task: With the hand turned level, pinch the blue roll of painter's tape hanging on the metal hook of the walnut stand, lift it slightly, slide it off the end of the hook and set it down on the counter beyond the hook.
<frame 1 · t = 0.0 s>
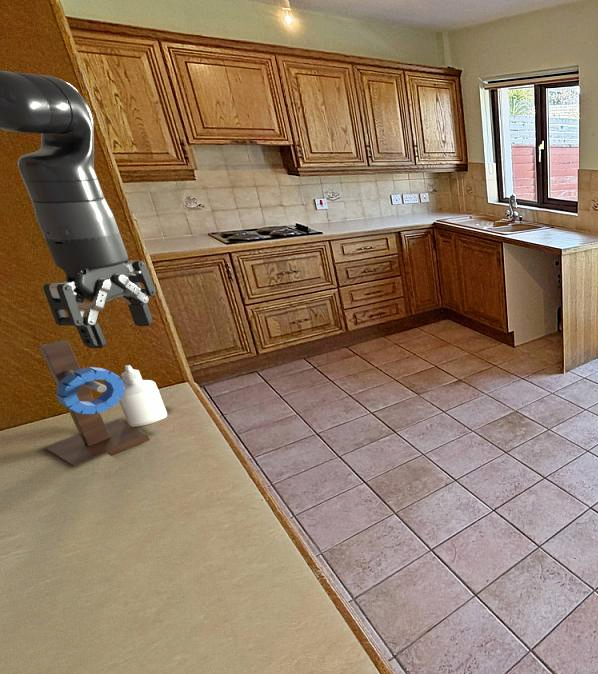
hand: (122, 335, 74), 23 cm above the counter, tool pointing down, fingers open, 8 cm apart
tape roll: (91, 390, 77), point 13 cm above the counter, touching hook stand
hook stand: (100, 446, 84), on the counter
eye dropper bottle: (149, 421, 92), on the counter
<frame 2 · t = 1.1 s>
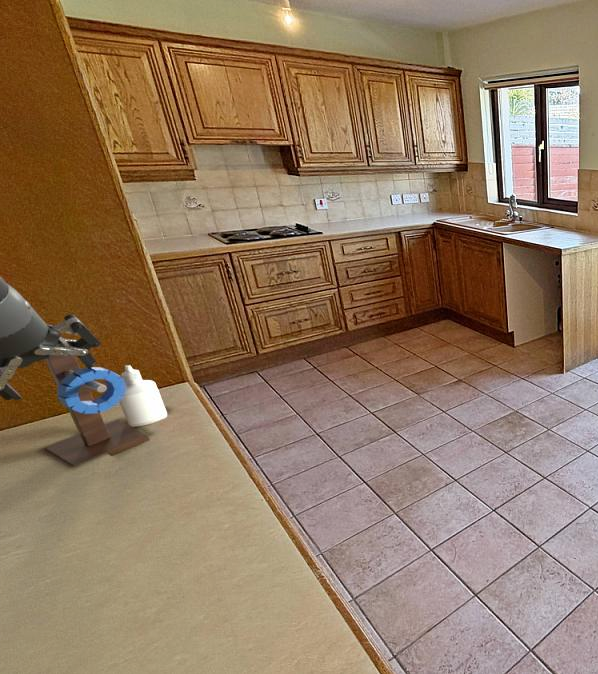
hand: (53, 379, 74), 16 cm above the counter, tool tilted 35°, fingers open, 8 cm apart
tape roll: (92, 390, 77), point 14 cm above the counter, touching gripper, hook stand
everything else where it was.
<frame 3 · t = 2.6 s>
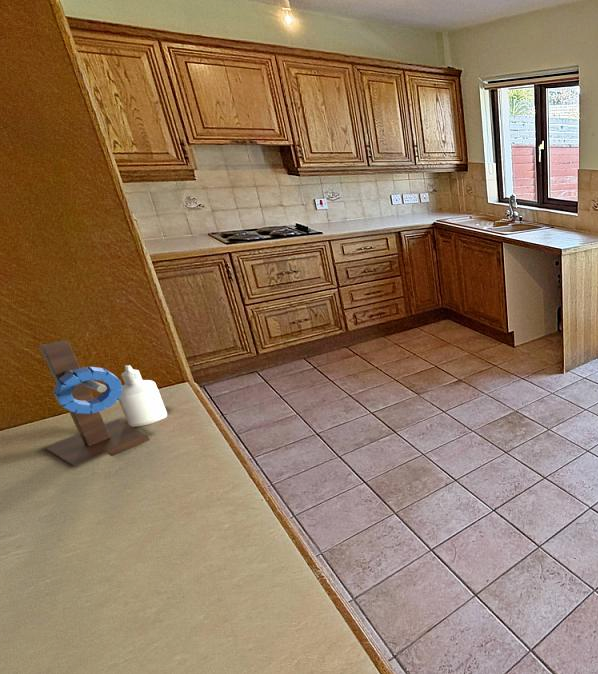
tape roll: (89, 390, 77), point 14 cm above the counter, tilted 28°, touching hook stand
everything else where it was.
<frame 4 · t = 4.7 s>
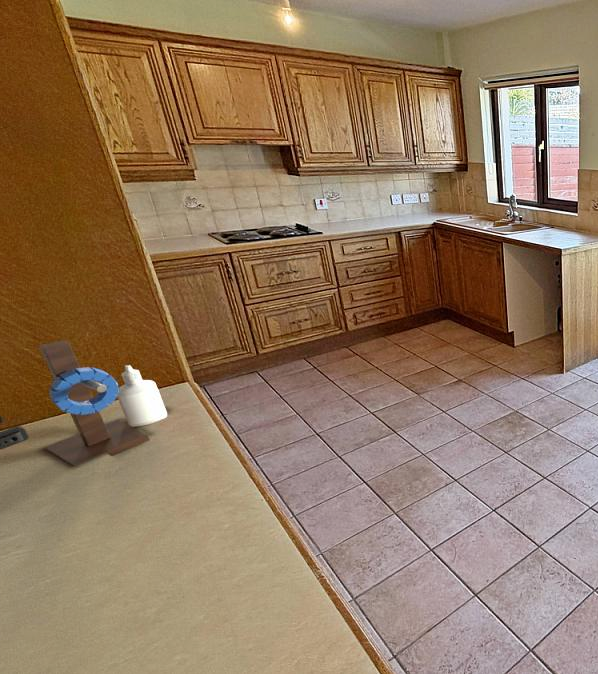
hand: (12, 423, 69), 12 cm above the counter, tool horizontal, fingers open, 8 cm apart
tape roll: (85, 390, 76), point 14 cm above the counter, tilted 15°, touching hook stand
everything else where it was.
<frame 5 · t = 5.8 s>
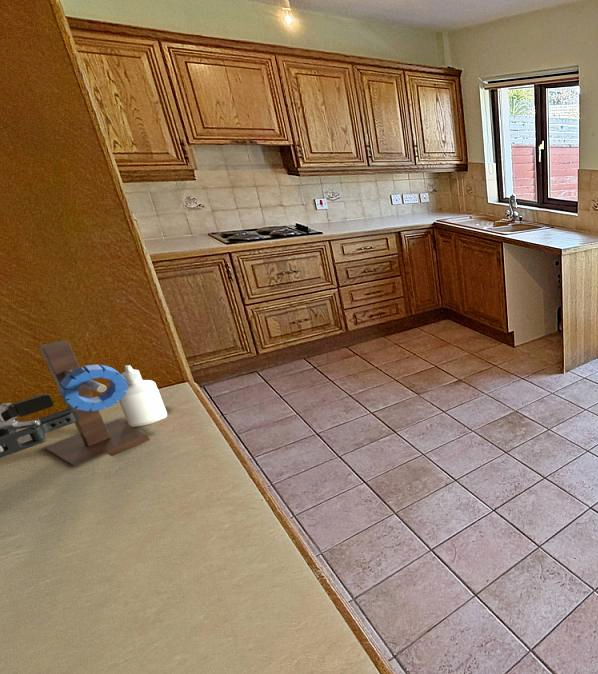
hand: (63, 406, 74), 13 cm above the counter, tool horizontal, fingers open, 8 cm apart
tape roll: (94, 387, 77), point 14 cm above the counter, tilted 47°, touching hook stand
everything else where it was.
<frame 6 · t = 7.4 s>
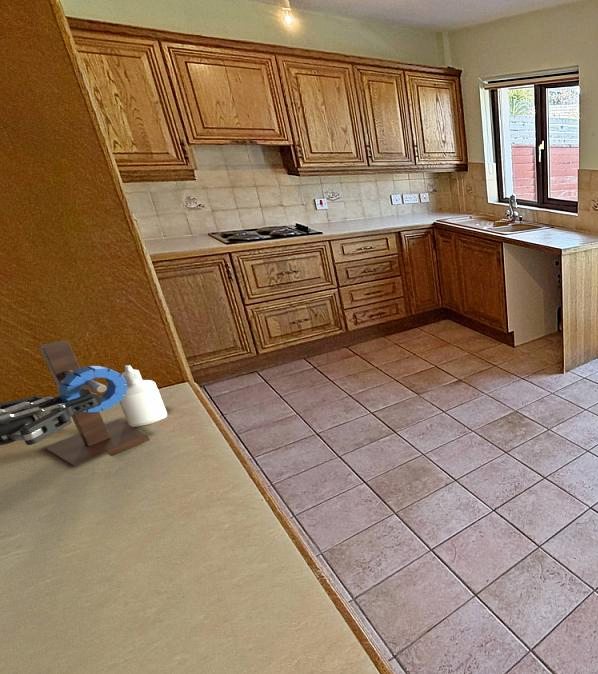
hand: (93, 396, 77), 13 cm above the counter, tool horizontal, fingers closed on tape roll, 2 cm apart
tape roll: (94, 389, 77), point 14 cm above the counter, tilted 36°, touching gripper, hook stand
everything else where it was.
when the fingers open (4 cm above the counter, at t = 13.2 s): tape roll drops 1 cm and tips over, point 4 cm above the counter.
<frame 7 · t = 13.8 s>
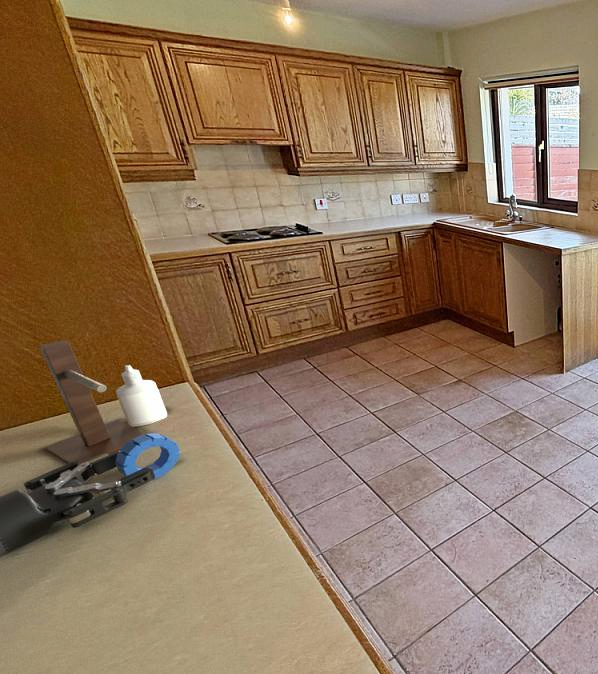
hand: (137, 463, 76), 3 cm above the counter, tool horizontal, fingers open, 8 cm apart
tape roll: (148, 457, 77), point 4 cm above the counter, tilted 30°
everything else where it was.
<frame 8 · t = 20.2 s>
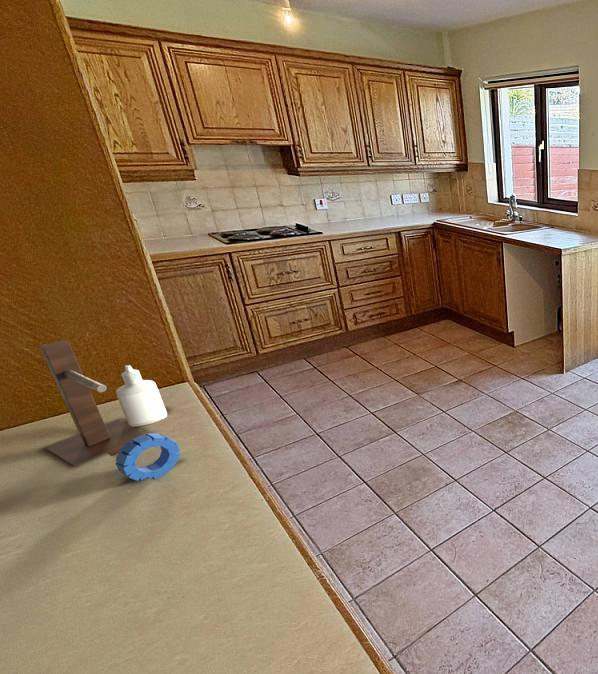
nothing on the counter moved.
at the end: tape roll inside the target area (3.9 cm from its centre), point 3.6 cm above the counter; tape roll touching counter; the gripper is holding nothing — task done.
